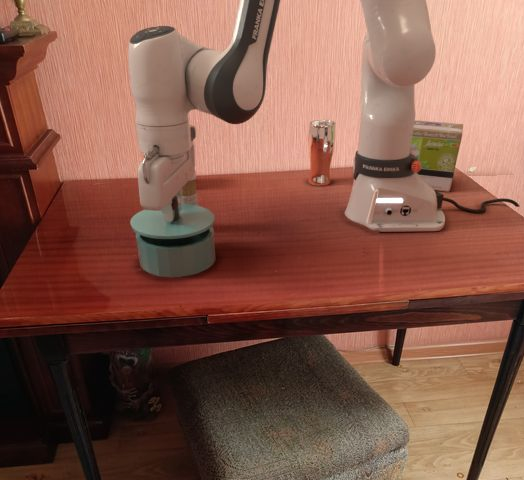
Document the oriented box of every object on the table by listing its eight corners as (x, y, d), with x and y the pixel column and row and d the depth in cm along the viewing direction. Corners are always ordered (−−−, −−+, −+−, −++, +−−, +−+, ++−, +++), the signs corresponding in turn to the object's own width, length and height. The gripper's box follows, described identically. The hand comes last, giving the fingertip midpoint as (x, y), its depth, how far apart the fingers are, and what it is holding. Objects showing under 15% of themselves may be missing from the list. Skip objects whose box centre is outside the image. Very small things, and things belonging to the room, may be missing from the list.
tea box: (390, 187, 137) (399, 127, 128) (395, 175, 145) (403, 118, 136) (450, 192, 133) (463, 131, 125) (451, 180, 141) (463, 122, 132)
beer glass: (334, 179, 142) (339, 120, 134) (328, 187, 137) (333, 127, 128) (310, 176, 144) (312, 118, 135) (303, 184, 139) (305, 125, 130)
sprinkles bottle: (192, 225, 118) (187, 164, 110) (204, 231, 115) (199, 169, 107) (175, 230, 115) (168, 168, 107) (186, 236, 112) (180, 173, 104)
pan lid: (223, 212, 103) (222, 186, 100) (202, 245, 91) (199, 216, 88) (148, 207, 106) (145, 181, 103) (117, 238, 93) (112, 210, 90)
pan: (223, 248, 107) (221, 219, 104) (204, 282, 96) (201, 250, 92) (155, 243, 110) (151, 214, 106) (129, 276, 98) (123, 245, 94)
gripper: (161, 156, 80) (171, 240, 89) (198, 125, 97) (203, 198, 105) (123, 155, 81) (136, 237, 90) (165, 124, 98) (173, 196, 106)
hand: (172, 216), depth 97 cm, fingers closed on pan lid, 2 cm apart
